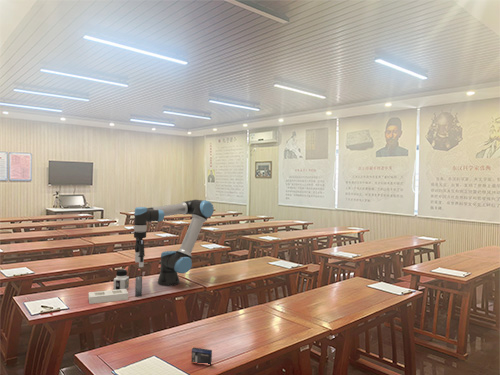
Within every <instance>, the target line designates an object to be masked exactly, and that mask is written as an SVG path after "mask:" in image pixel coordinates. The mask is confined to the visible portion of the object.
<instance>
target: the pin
mask: <svg viewBox="0 0 500 375" xmlns="http://www.w3.org/2000/svg"><path fill="white" fill-rule="evenodd" d="M134 285H135V288H134V289H135V291H134V294H135V295H134V297H136V298H140V297H142V296H143V295H142V294H143V276H140V275H139V276H136V277H135V284H134Z"/></svg>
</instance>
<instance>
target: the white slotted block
mask: <svg viewBox="0 0 500 375" xmlns="http://www.w3.org/2000/svg"><path fill="white" fill-rule="evenodd" d="M87 299H88V304H89V305H93V304H100V303H102V304H103V303H110V302H121V301H127V300H129V292H128V290H127V289H118V290H113V289H110V290H99V291H98V290H97V291H89V292H88V298H87Z"/></svg>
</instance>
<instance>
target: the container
mask: <svg viewBox="0 0 500 375" xmlns="http://www.w3.org/2000/svg"><path fill="white" fill-rule="evenodd" d="M127 274H128V272H127V269H125V268H120V269H117V270H116V275H115V277H114V278H113V285H112V286H113V287H112V288H113V289H112V290H118V289H126V290H127V289H128V288H129V286H130V281H129V280H130V276H129V275H128V276H127Z"/></svg>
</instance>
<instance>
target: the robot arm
mask: <svg viewBox="0 0 500 375" xmlns="http://www.w3.org/2000/svg"><path fill="white" fill-rule="evenodd" d="M214 211H215V210H214V205H213V203H212V202H211V201H209V200H203V199H191V200H187V201H181V202H180V203H175V204H168V205H159V206H153V207H145V206H144V207H143V206H137V207H135V208H134V221H133V222H134V225H133V226H132V228H133V231H134V232H133V238H134V239H135V246H134V252H135V254H134V263H135V264H136V263H138V268H144V266H145V265H144V264H145V263H144V260H145V241H144V239H145V238H147V226H148V224H147V223H148V222H162V221H163V220H164V219H165V217H169V216H175V215H184V216H185V215H190V216H191V217H192V219H191V221H190V223H189V226H188V228H187V231H186V232H185V235H184V238H183V240H182V242H181V245H180V247H179V249H177V250H166V251H162V252H161V254H160V274H159V276H158V278H157V284H158V285H159V286H165V287H169V286H170V285H172V286H176V285H178V284H180V278H179V275H178V274H186V273H188V272H189V271H190V270H191V268H192V266H193V262H192V258H193V255H192V252H193V250H194V247H195V246H196V245H195V244H196V242H197V240H198V237H199V234H200V232H201V230H202V228H203V225H204V223H205V222H207V221H208V218H210V217H212V216H213V214H214ZM175 284H176V285H175Z"/></svg>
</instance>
